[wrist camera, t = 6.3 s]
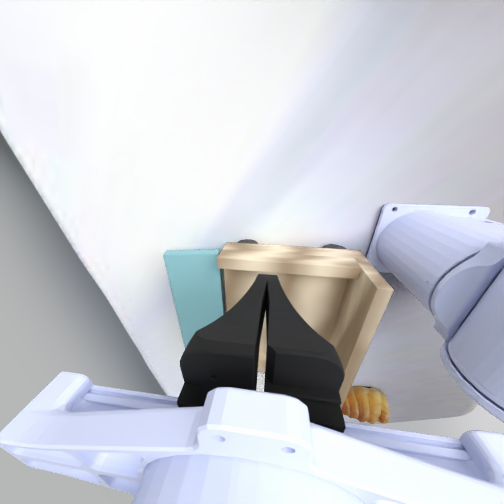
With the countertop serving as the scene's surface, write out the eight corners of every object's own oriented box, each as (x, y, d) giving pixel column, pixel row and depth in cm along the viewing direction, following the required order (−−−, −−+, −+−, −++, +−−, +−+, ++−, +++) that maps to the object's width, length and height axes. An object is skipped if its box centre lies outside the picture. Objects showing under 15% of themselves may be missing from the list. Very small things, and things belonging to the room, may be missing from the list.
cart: (355, 245, 22) (393, 290, 14) (325, 347, 30) (341, 408, 22) (229, 238, 23) (206, 274, 16) (234, 336, 31) (220, 390, 24)
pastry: (325, 401, 37) (330, 425, 33) (328, 380, 34) (333, 405, 31) (377, 405, 35) (388, 431, 32) (384, 384, 32) (397, 410, 29)
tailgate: (218, 253, 21) (163, 255, 20) (226, 351, 28) (186, 353, 28) (219, 247, 22) (168, 248, 22) (227, 341, 30) (189, 342, 30)
